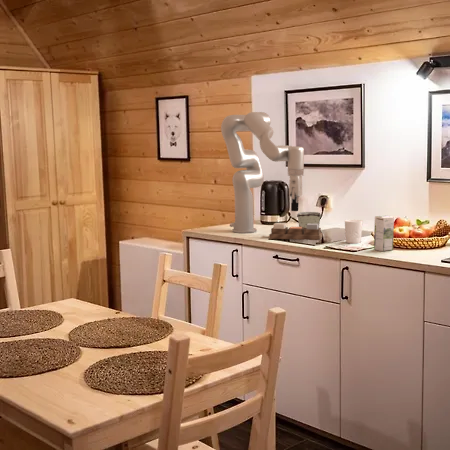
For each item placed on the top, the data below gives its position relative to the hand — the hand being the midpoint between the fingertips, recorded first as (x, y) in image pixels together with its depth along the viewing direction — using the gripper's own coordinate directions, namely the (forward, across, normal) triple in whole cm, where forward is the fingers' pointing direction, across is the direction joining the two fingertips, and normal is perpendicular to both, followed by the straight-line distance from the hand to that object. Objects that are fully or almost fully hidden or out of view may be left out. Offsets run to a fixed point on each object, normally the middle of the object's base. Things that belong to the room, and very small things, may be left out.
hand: (294, 210), depth 330 cm
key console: (+13, -1, -1) cm, 13 cm away
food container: (+13, +20, -4) cm, 24 cm away
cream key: (+9, -1, +7) cm, 12 cm away
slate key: (+9, -1, -9) cm, 13 cm away
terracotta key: (+11, -1, -1) cm, 11 cm away
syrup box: (+11, -30, -44) cm, 54 cm away
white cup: (+12, -11, -29) cm, 33 cm away
